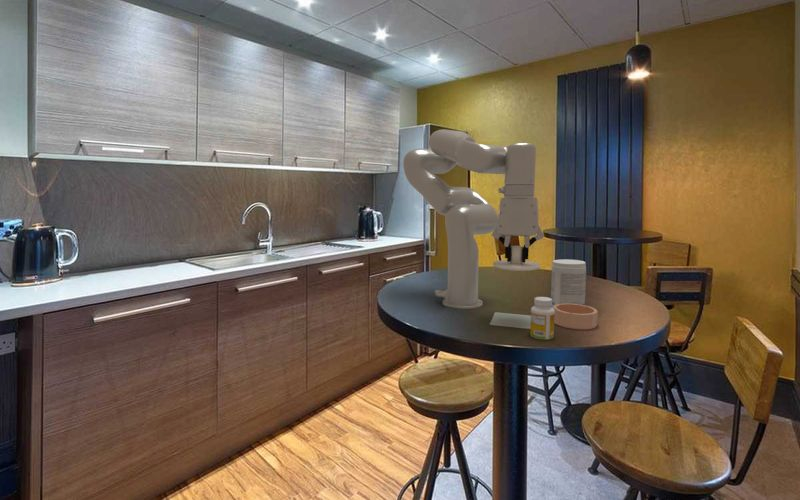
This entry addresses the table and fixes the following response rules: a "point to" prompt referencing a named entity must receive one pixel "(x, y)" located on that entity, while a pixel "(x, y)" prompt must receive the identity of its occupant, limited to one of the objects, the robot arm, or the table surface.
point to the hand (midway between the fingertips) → (516, 260)
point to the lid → (516, 261)
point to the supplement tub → (568, 282)
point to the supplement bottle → (542, 318)
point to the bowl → (575, 316)
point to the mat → (511, 320)
